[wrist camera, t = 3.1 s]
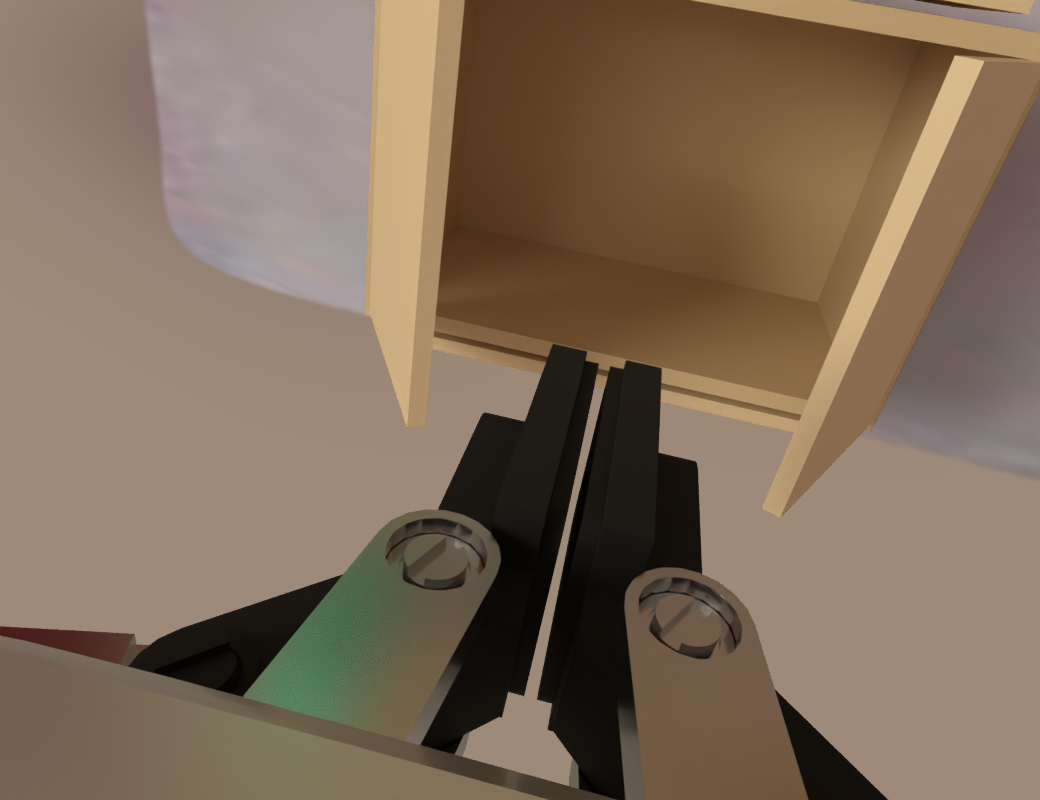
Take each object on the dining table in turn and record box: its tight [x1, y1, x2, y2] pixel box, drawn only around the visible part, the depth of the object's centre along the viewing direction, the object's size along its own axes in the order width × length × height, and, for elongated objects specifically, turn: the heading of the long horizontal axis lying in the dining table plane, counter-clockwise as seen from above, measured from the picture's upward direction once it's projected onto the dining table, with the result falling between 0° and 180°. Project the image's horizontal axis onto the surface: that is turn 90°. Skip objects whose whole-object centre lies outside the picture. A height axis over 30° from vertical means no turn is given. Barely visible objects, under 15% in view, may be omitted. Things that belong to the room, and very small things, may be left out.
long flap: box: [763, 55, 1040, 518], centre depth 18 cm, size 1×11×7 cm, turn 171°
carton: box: [365, 0, 1040, 433], centre depth 26 cm, size 18×14×10 cm
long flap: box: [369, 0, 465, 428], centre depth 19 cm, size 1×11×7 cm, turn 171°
